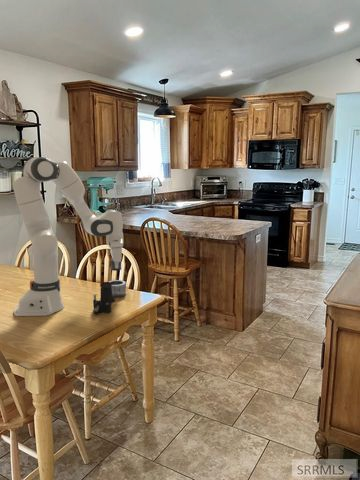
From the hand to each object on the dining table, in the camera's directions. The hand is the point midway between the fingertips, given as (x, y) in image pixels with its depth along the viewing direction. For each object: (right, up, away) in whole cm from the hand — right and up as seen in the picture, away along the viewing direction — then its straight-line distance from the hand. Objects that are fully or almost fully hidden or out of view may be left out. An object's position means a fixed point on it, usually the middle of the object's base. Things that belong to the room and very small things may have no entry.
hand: (115, 266), depth 204 cm
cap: (0, -2, 0) cm, 2 cm away
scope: (-2, -20, -21) cm, 29 cm away
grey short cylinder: (0, -15, +3) cm, 16 cm away
